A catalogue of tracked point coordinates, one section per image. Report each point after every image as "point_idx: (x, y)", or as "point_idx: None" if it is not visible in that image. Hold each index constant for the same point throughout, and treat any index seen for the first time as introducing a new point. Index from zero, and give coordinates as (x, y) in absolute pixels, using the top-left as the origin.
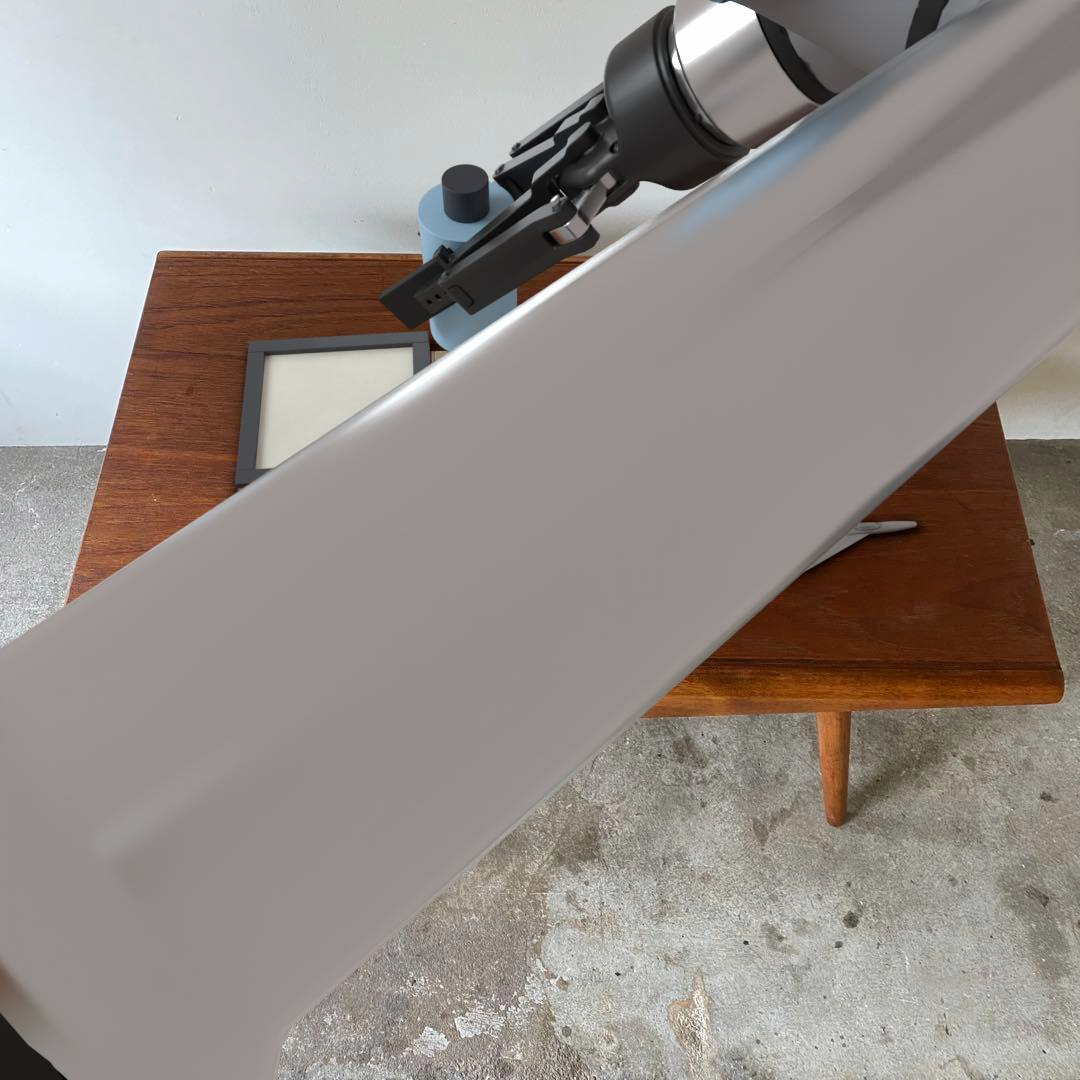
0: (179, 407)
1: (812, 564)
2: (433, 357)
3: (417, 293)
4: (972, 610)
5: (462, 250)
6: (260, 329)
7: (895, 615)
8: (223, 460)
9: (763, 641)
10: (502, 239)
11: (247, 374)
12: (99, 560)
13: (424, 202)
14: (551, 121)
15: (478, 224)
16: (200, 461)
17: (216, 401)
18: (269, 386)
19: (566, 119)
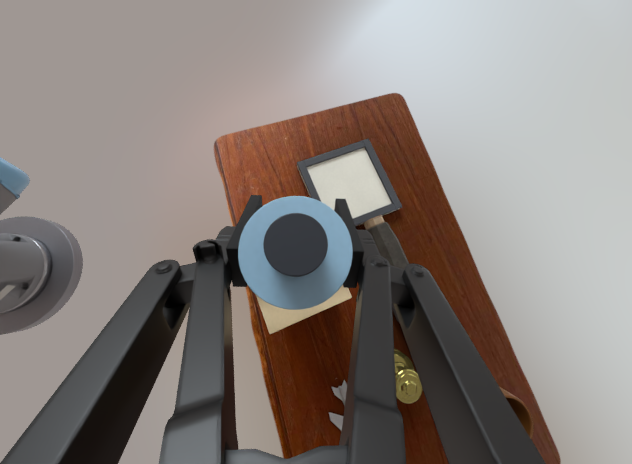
0: (330, 127)
1: (336, 424)
2: (377, 217)
3: (226, 229)
4: None
5: (202, 275)
6: (379, 140)
7: None
8: (311, 153)
9: (290, 407)
10: (76, 382)
11: (351, 144)
12: (254, 131)
13: (292, 201)
14: (450, 329)
15: (272, 272)
16: (307, 146)
17: (337, 139)
18: (349, 155)
19: (399, 433)
